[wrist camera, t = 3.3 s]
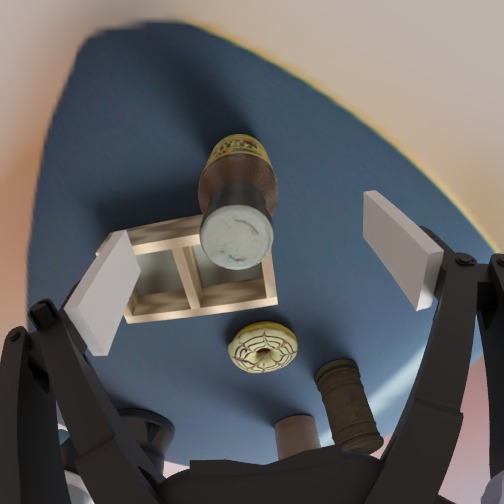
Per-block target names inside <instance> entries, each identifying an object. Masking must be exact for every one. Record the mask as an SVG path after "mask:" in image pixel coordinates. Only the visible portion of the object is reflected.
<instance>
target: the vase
mask: <svg viewBox="0 0 504 504" xmlns="http://www.w3.org/2000/svg"><path fill="white" fill-rule="evenodd" d="M275 436H276V444H277V452H278V460H281V459H284V458H287V457H289V456H292V455H295V454H297V453H300V452H302V451H306V450H311V449H316V448H321V445H320V441H319V436H318V432H317V427H316V423H315V419H314V418H313V417H311V416H308V415H294V416H289V417H286V418H284V419H282V420H280V421H278V422H277V423H276V424H275Z"/></svg>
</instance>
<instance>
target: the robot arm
mask: <svg viewBox="0 0 504 504" xmlns="http://www.w3.org/2000/svg"><path fill="white" fill-rule="evenodd" d="M363 237H364V239H365V240H366V241H367V243H368V244H369V245H370V247H371V248H372V249H373V250H374V252H375V253H376V254H377V256H378V257H379V258H380V260H381V261H382V263H383V264H384V265H385V267H386V268H387V269H388V271H389V272H390V273H391V275H392V276H393V278H394V279H395V280H396V282H397V283H398V285H399V286H400V288H401V289H402V290H403V292H404V293H405V295H406V296H407V298H408V299H409V301H410V302H411V304H412V305H413V306H414V308H415V309H416V311H417V310H421V309H424V308H428V307H431V304H432V300H433V297H434V296H435V297H436V298H437V300H438V305H437V308H436V311H435V315H434V318H433V324H432V328H431V331H430V335H429V339H428V342H427V345H426V349H425V352H424V355H423V358H422V361H421V364H420V367H419V370H418V373H417V376H416V379H415V382H414V385H413V387H412V390H411V393H410V395H409V398H408V400H407V403H406V405H405V408H404V410H403V412H402V415H401V417H400V420H399V422H398V424H397V426H396V429H395V431H394V433H393V435H392V437H391V439H390V441H389V443H388V445H387V447H386V449H385V451H384V452H383V454H382V456H381V458H380V459H377V458H375V457H373V456H370V455H367V454H363V453H358V452H350V451H342V448H341V444H336V445H331V446H326V447H322V448H316V449H311V450H306V451H302V452H300V453H297V454H295V455H292V456H289V457H287V458H284V459H281V460H279V461H276V462H273V463H270V464H267V465H259V464H251V463H244V462H237V461H231V460H190V469H186V470H183V471H181V472H178V473H176V474H174V475H171V476H170V477H168V478H167V479H166V478H165V477H164V476H163V469H164V457H165V453H166V451H167V449H168V448H169V446H170V444H171V442H172V440H173V437H174V430H175V428H174V426H173V424H172V423H171V422H170V421H169V420H167V419H166V418H164V417H162V416H160V415H157V414H155V413H152V412H148V411H144V410H139V409H122V410H119V411H118V412H117V410H116V409H115V407H114V405H113V403H112V402H111V400H110V398H109V397H108V395H107V393H106V391H105V390H104V388H103V386H102V384H101V382H100V380H99V379H98V377H97V375H96V373H95V371H94V369H93V367H92V365H91V363H90V361H89V359H88V357H87V356H86V355H85V351H86V349H87V347H88V348H89V350H90V351H91V353H92V354H93V356H107V355H108V353H109V350H110V347H111V344H112V342H113V339H114V336H115V334H116V331H117V328H118V326H119V323H120V321H121V318H122V315H123V313H124V310H125V308H126V305H127V303H128V301H129V298H130V296H131V293H132V291H133V289H134V286H135V284H136V282H137V279H138V277H139V275H140V272H141V269H140V267H139V264H138V262H137V259H136V256H135V254H134V251H133V248H132V245H131V243H130V240H129V237H128V234H127V231H126V230H122V231H118V232H114V233H113V235H112V236H111V237H110V239H109V240H108V242H107V243H106V244H105V246H104V247H103V249H102V250H101V251H100V253H99V254H98V256H97V257H96V259H95V260H94V262H93V263H92V265H91V266H90V268H89V269H88V271H87V272H86V274H85V275H84V277H83V278H82V279H81V280H80V281H79V282H78V283H77V284H76V285H74V287H73V288H72V290H71V291H70V294H69V295H68V296H67V299H65V301H64V303H63V304H62V306H61V308H60V309H59V311H57V309H56V307H55V306H54V304H53V302H52V301H51V299H43V300H40V301H38V302H37V303H36V304H34V305H33V306H32V307H31V308H30V310H29V312H28V317H29V319H30V320H31V322H32V323H33V325H34V326H35V328H36V329H37V331H35V332H32V333H29V334H28V332H27V331H26V329H25V328H24V327H23V326H19V327H16V328H14V329H12V330H11V331H10V332H9V333H8V335H7V336H6V339H5V342H4V346H3V351H2V356H1V362H0V504H91V501H92V500H93V502H94V503H95V504H455V503H454V502H452V501H450V500H448V499H446V498H444V497H442V496H440V495H439V494H438V492H439V489H440V487H441V485H442V482H443V480H444V477H445V475H446V472H447V469H448V467H449V464H450V461H451V458H452V455H453V452H454V449H455V446H456V443H457V439H458V436H459V433H460V430H461V426H462V422H463V413H461V412H460V408H461V403H462V399H463V394H464V390H465V386H466V381H467V376H468V370H469V365H470V358H471V352H472V345H473V337H474V328H475V318H476V315H477V320H478V324H479V330H480V335H481V341H482V347H483V353H484V360H485V368H486V376H487V386H488V399H489V417H490V418H489V420H490V448H489V450H490V451H489V456H490V458H489V459H490V462H489V463H490V464H489V465H490V478H491V480H490V481H489V483H488V485H487V486H486V489H485V492H484V494H483V496H482V497H481V504H504V254H500V253H497V254H493V255H492V256H491V258H490V262H489V264H477V261H476V260H475V259H474V258H473V257H472V256H470V255H468V254H465V253H460V252H458V253H455V252H454V251H453V250H452V249H451V248H449V247H448V246H447V245H446V244H445V243H444V242H443V241H441V239H440V238H439V237H438V236H437V237H436V235H435V234H434V233H433V232H432V231H431V230H429V229H427V228H425V227H423V226H417V225H416V224H415V223H414V222H413V221H412V220H410V219H409V218H408V217H407V216H406V215H405V214H404V213H402V212H401V211H400V210H399V209H398V208H397V207H395V206H394V205H393V204H392V203H391V202H389V201H388V200H387V199H386V198H385V197H383V196H382V195H381V194H380V193H378V192H377V191H367V192H364V205H363ZM56 401H57V403H58V406H59V409H60V412H61V415H62V417H63V420H64V422H65V425H66V427H67V430H68V431H66V430H63V429H59V430H58V423H57V412H56Z"/></svg>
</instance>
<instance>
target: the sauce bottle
mask: <svg viewBox="0 0 504 504" xmlns="http://www.w3.org/2000/svg"><path fill="white" fill-rule="evenodd" d="M198 200H199V205H200V209H201V211H202V214H203V215H204V216H203V219H202V222H201V225H200V232H199V237H200V243H201V246H202V249H203V251H204V253H205V254H206V255H207V257H208V258H209V259H210V260H211V261H212V262H214V263H215V264H217V265H219V266H222V267H224V268H227V269H233V270H240V269H247V268H250V267H252V266H255V265H257V264H258V263H260V262H261V261H262V260H264V259H265V258H266V257H267V255H268V254H269V252H270V250H271V248H272V244H273V241H274V229H273V221H272V219H271V216H272V215H273V213H274V211H275V209H276V207H277V203H278V186H277V181H276V176H275V173H274V170H273V168H272V165H271V163H270V161H269V158H268V156H267V153H266V151H265V149H264V147H263V146H262V144H261V143H260V142H259V141H258V140H256V139H255V138H253V137H251V136H249V135H246V134H234V135H229V136H227V137H225V138H224V139H222V140H221V141H220V142H219V143H218V144H217V145H216V146H215V147H214V149H213V151H212V153H211V155H210V157H209V159H208V161H207V164H206V165H205V168H204V170H203V172H202V174H201V177H200V180H199V187H198Z"/></svg>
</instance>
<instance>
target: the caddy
mask: <svg viewBox="0 0 504 504" xmlns="http://www.w3.org/2000/svg"><path fill="white" fill-rule="evenodd" d="M203 216H204V215H203V214H201V215H196V216H190V217H185V218H179V219H174V220H169V221H164V222H159V223H153V224H148V225H143V226H139V227H134V228H129V229H124V230H126V231H127V234H128V237H129V240H130V243H131V245H132V248H133V251H134V254H135V256H136V259H137V262H138V264H139V267H140V269H141V272H140V275H139V277H138V279H137V282H136V284H135V286H134V289H133V291H132V293H131V296H130V298H129V301H128V303H127V305H126V308H125V310H124V313H123V315H124V317H125V319H126V321H127V323H139V322H149V321H158V320H167V319H176V318H185V317H193V316H201V315H209V314H216V313H224V312H231V311H238V310H245V309H251V308H258V307H264V306H271V305H277V304H278V301H277V293H276V286H275V278H274V270H273V263H272V255H271V250H270V252H269V254H268V255H267V257H266V258H265V259H264V260H262V261H261V262H260V263H258V264H257V265H255V266H252V267H250V268H247V269H240V270H233V269H227V268H224V267H222V266H219V265H217V264H215V263H214V262H212V261H211V260H210V259H209V258H208V257H207V255H206V254H205V253H204V251H203V249H202V246H201V243H200V237H199V232H200V225H201V222H202V219H203ZM119 231H122V230H119ZM115 232H118V231H115ZM113 233H114V232H111V233H110V234H109V235H108V237H107V238H106V239H105V241H104V242H103V243H102V245H101V246H100V247H99V249H98V250H97V252H96V256H98V254H99V253H100V251H101V250H102V249H103V247H104V246H105V244H106V243H107V242H108V240H109V239H110V237H111V236H112V235H113Z"/></svg>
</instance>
